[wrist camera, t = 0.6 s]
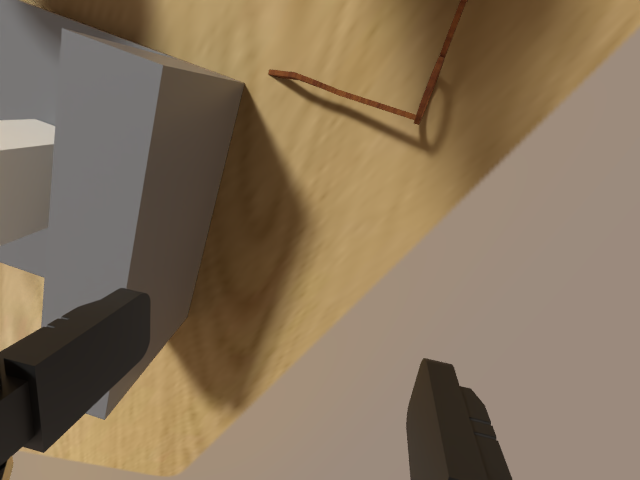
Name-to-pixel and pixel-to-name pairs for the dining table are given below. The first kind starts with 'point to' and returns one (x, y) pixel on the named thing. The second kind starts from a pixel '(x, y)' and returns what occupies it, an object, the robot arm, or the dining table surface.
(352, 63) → the dining table surface
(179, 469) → the dining table surface
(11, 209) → the white box
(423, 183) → the dining table surface
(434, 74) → the glasses
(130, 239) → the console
